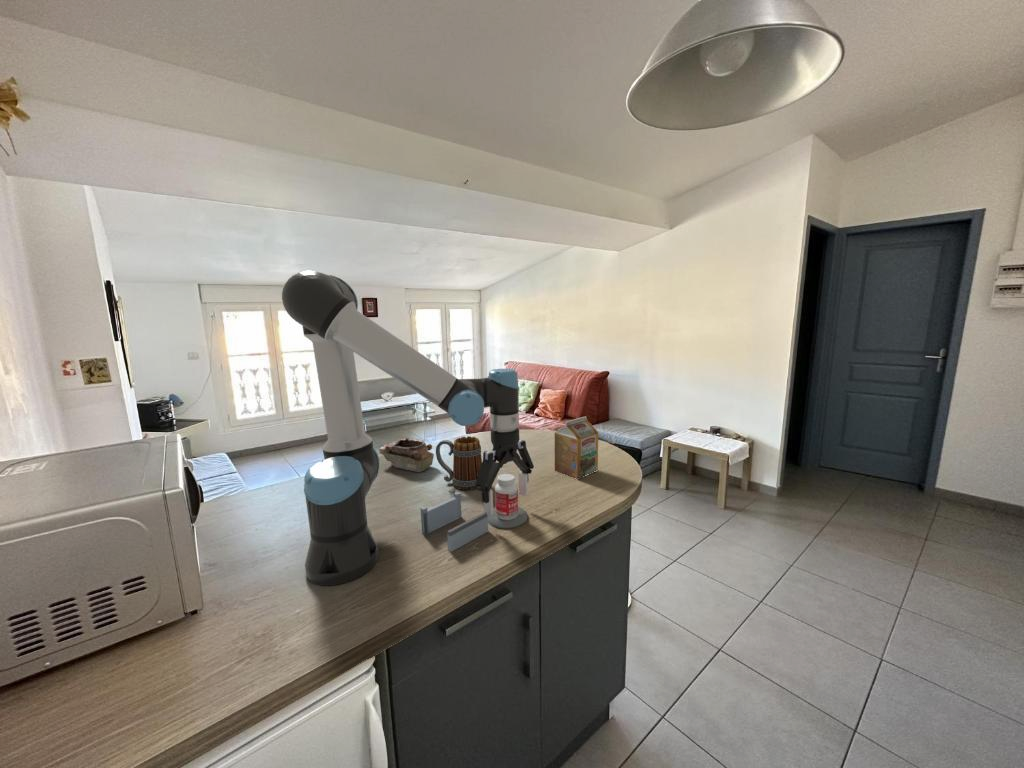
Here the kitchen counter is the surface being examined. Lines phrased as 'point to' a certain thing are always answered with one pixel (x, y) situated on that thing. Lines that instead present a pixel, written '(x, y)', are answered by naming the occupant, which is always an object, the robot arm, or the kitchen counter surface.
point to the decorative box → (408, 454)
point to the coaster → (508, 524)
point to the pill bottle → (506, 497)
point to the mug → (462, 461)
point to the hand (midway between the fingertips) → (506, 503)
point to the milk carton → (576, 448)
